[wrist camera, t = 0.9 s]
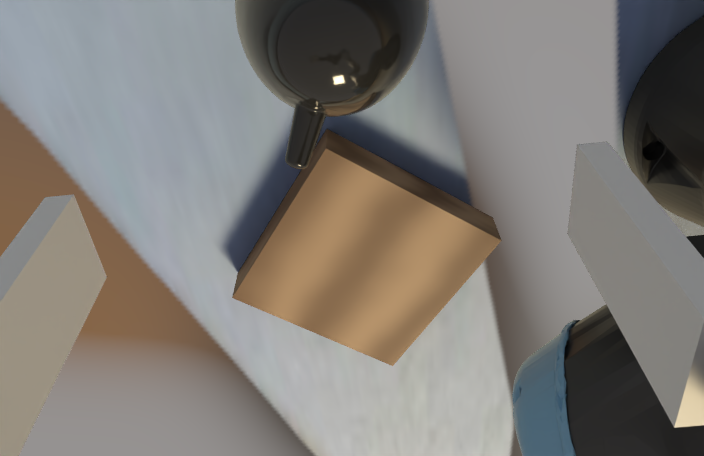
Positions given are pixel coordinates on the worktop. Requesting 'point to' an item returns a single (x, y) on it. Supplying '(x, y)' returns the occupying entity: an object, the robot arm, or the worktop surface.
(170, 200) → the worktop surface
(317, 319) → the walnut stand
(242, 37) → the glossy black egg shape
